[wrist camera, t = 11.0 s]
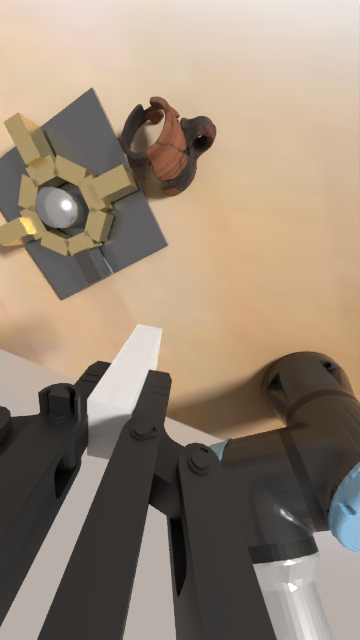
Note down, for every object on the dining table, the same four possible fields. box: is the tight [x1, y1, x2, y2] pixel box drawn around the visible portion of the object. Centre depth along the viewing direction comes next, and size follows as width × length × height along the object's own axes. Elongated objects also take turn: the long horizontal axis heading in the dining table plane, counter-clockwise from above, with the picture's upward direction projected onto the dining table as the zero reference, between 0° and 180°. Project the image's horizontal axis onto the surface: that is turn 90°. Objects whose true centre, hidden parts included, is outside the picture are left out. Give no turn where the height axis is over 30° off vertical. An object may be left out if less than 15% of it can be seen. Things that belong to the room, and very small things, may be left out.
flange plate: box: [0, 88, 168, 300], centre depth 33 cm, size 22×22×6 cm
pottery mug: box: [121, 97, 216, 196], centre depth 30 cm, size 12×10×8 cm
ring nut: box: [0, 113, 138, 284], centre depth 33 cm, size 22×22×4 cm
